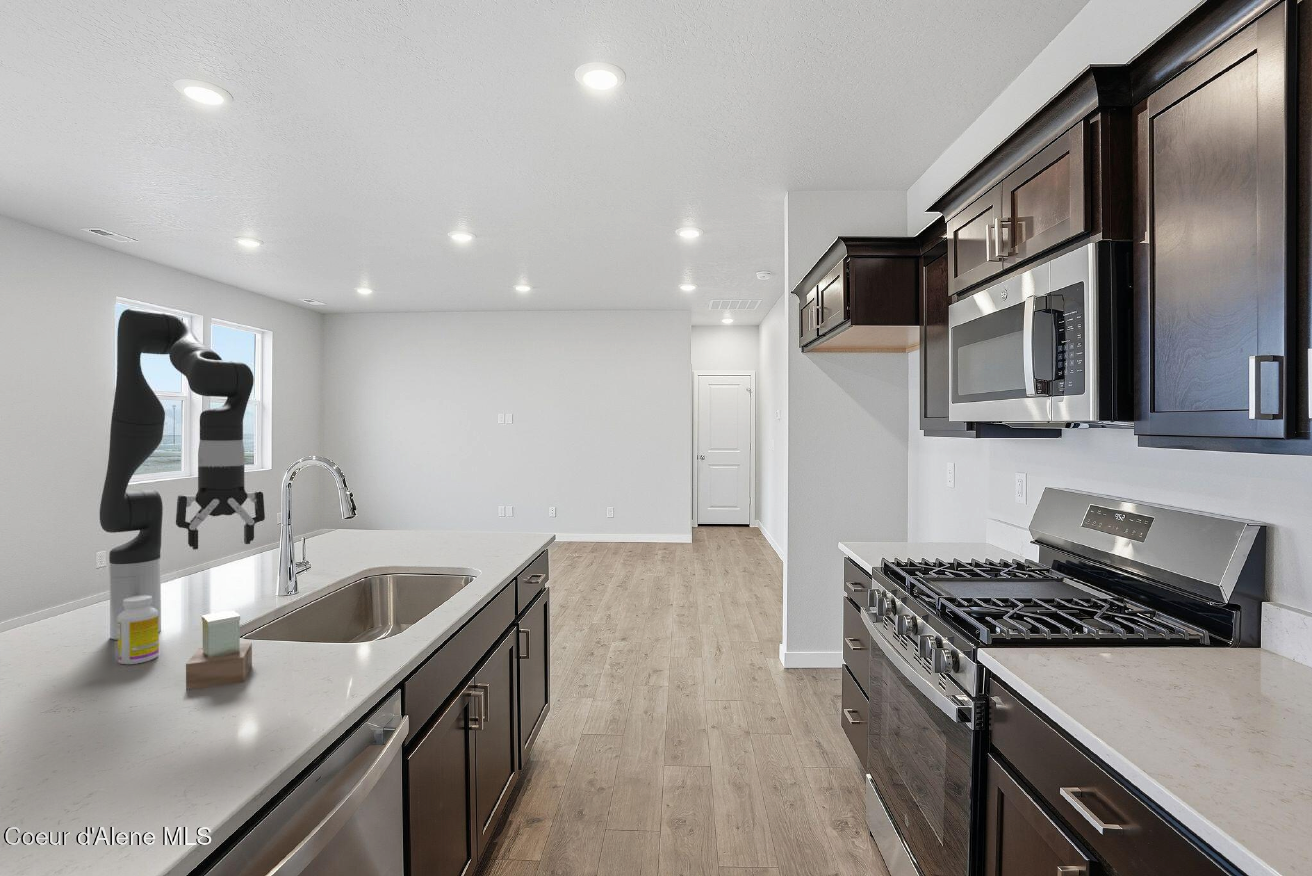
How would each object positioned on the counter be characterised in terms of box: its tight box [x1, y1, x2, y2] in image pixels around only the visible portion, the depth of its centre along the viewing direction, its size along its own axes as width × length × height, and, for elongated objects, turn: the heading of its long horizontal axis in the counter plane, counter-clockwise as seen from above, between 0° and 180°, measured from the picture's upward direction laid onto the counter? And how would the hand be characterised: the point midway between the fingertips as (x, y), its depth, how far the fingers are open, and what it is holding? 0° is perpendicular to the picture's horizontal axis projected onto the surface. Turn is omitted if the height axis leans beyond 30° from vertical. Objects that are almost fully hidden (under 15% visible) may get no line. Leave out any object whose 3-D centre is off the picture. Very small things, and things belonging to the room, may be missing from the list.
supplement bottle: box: [117, 595, 160, 665], centre depth 134 cm, size 7×7×13 cm
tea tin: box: [201, 609, 241, 659], centre depth 125 cm, size 5×5×7 cm
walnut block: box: [185, 642, 253, 690], centre depth 125 cm, size 9×9×5 cm
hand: (221, 546), depth 126 cm, fingers open, 8 cm apart
